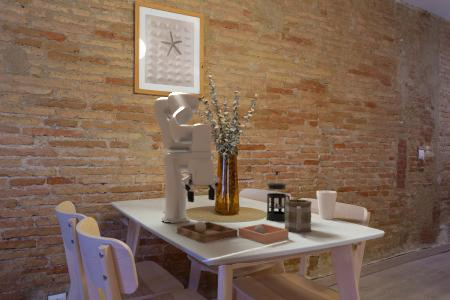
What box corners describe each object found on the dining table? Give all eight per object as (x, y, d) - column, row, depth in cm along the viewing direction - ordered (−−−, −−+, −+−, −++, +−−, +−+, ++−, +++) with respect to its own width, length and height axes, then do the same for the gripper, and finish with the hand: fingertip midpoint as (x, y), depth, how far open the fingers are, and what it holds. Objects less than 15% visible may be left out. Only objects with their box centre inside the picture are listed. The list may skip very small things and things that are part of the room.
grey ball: (259, 235, 128) (259, 223, 128) (267, 237, 125) (268, 225, 125) (250, 237, 126) (251, 225, 126) (259, 239, 122) (259, 227, 122)
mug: (284, 226, 146) (284, 198, 146) (310, 228, 145) (310, 199, 145) (284, 235, 131) (284, 204, 131) (313, 237, 129) (313, 205, 129)
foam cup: (316, 219, 162) (316, 192, 162) (316, 216, 171) (316, 190, 171) (337, 220, 160) (337, 193, 160) (335, 217, 169) (336, 190, 169)
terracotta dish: (238, 237, 127) (238, 228, 127) (262, 232, 136) (263, 223, 136) (263, 245, 117) (263, 235, 117) (288, 239, 126) (288, 229, 126)
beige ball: (192, 232, 131) (192, 221, 131) (201, 231, 134) (201, 219, 134) (198, 234, 128) (199, 223, 128) (208, 233, 131) (208, 221, 131)
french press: (261, 219, 160) (262, 171, 160) (270, 216, 168) (270, 170, 168) (285, 222, 154) (285, 172, 154) (292, 219, 162) (293, 171, 162)
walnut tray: (176, 234, 131) (176, 226, 131) (209, 228, 140) (209, 221, 140) (203, 244, 117) (203, 236, 117) (237, 237, 127) (237, 229, 127)
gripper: (213, 156, 139) (213, 198, 139) (176, 156, 128) (176, 201, 128) (225, 156, 133) (225, 200, 133) (187, 156, 123) (187, 203, 122)
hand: (201, 200), depth 131 cm, fingers open, 9 cm apart
